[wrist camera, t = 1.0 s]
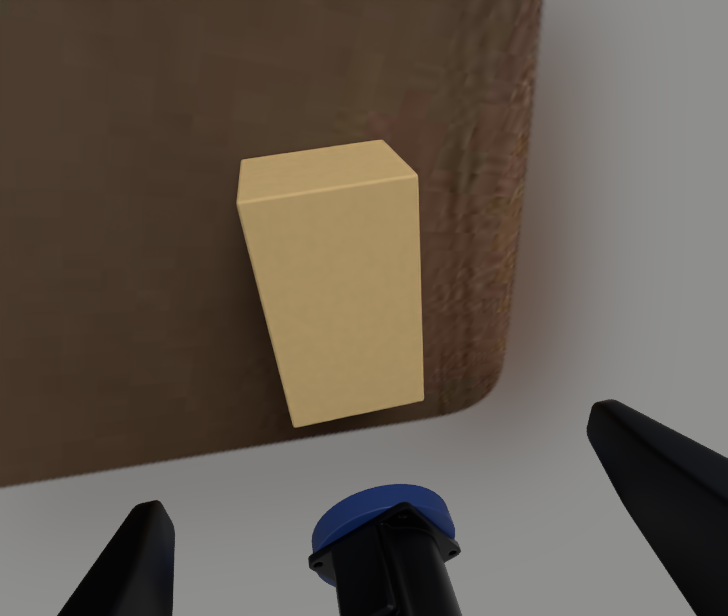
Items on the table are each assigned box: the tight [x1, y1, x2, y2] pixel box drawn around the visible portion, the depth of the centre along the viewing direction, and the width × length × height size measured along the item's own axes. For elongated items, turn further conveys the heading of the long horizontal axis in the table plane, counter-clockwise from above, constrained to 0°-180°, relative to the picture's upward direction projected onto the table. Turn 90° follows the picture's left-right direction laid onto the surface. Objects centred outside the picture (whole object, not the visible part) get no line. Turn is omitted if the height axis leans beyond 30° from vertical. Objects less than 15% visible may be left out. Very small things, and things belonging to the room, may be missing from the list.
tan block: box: [236, 140, 424, 428], centre depth 15 cm, size 8×5×4 cm, turn 5°
